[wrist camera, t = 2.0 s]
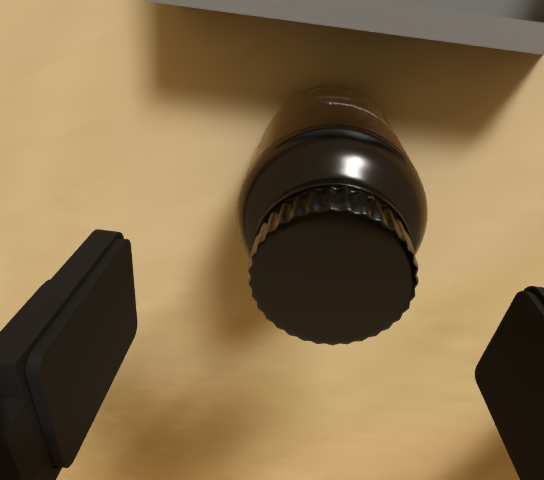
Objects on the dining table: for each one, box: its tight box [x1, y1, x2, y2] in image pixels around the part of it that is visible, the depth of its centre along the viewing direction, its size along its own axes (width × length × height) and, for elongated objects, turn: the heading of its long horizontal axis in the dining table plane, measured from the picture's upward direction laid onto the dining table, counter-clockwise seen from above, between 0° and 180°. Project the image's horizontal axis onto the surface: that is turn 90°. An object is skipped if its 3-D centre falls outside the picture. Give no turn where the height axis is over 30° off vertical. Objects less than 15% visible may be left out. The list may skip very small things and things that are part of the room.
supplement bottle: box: [236, 87, 427, 345], centre depth 16 cm, size 7×7×12 cm
